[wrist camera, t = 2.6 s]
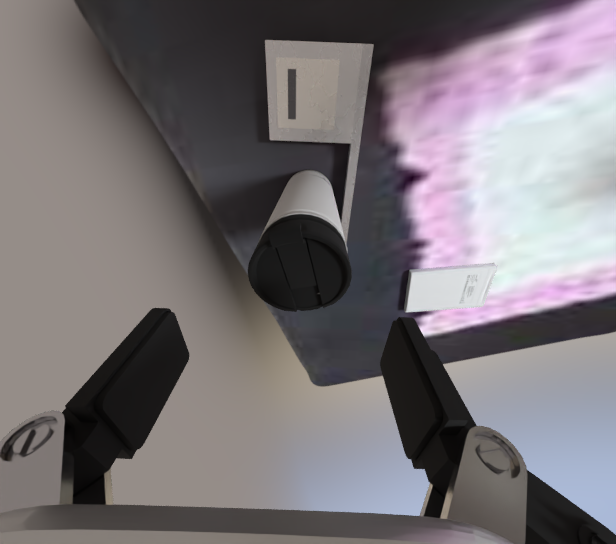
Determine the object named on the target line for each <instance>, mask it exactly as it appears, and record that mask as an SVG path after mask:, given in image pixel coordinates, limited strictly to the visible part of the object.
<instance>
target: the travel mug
mask: <svg viewBox="0 0 616 544" xmlns="http://www.w3.org/2000/svg"><path fill="white" fill-rule="evenodd" d="M351 272H352V270H351V266H350V262H349V258H348V254H347V246H346V242H345V238H344V234H343V230H342V226H341V222H340V218H339V214H338V210H337V206H336V201H335V197H334V193H333V189H332V186H331V184H330V181H329V180H328V179H327V177H325V176H324V175H323V174H322V173H320V172H318V171H315V170H303V171H300V172H298V173H296V174H295V175H293V176H292V177H291V179H290V180H289V181H288V183H287V185H286V187H285V189H284V191H283V193H282V195H281V197H280V199H279V201H278V203H277V205H276V207H275V209H274V211H273V213H272V215H271V217H270V219H269V221H268V223H267V225H266V227H265V229H264V231H263V233H262V235H261V237H260V240H259V243H258V245H257V247H256V249H255V251H254V253H253V255H252V257H251V260H250V262H249V267H248V277H249V281H250V284H251V286H252V288H253V289H254V291H255V292H256V294H257V295H258V296H259V297H260V298H261V299H262V300H264V301H265V302H267V303H268V304H270V305H272V306H274V307H276V308H278V309H281V310H284V311H294V312H297V310H301V311H305V310H313V309H318V308H320V307H322V306H323V308H324V307H327V306H329V305H332V304H334V303H335V302H337V301H338V300H339V299H341V297H342V296H343V295H344V294H345V293H346V291H347V289H348V287H349V286H350V282H351Z"/></svg>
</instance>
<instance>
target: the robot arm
mask: <svg viewBox="0 0 616 544" xmlns="http://www.w3.org/2000/svg"><path fill="white" fill-rule="evenodd" d="M188 360H189V352H188V349H187V346H186V343H185V341H184V338H183V335H182V332H181V330H180V327H179V324H178V321H177V319H176V316H175V314H174V313H173V312H171V310H170V309H167V308H153V309H152V310H150V312H149V313H148V314H147V315H146V316H145V317H144V318H143V319H142V320H141V321H140V323H139V324H138V325H137V326H136V327H135V328H134V329H133V331H132V332H131V333H130V334H129V335H128V336H127V337H126V338H125V340H124V341H123V342H122V343H121V344H120V345H119V346H118V347H117V348H116V349H115V351H114V352H113V353H112V354H111V355H110V356H109V358H108V359H107V360H106V361H105V362H104V363H103V364H102V365H101V366H100V367H99V369H98V370H97V371H96V372H95V373H94V374H93V375H92V376H91V377H90V379H89V380H88V381H87V382H86V383H85V384H84V385H83V386H82V388H81V389H80V390H79V391H78V392H77V393H76V394H75V396H74V397H73V398H72V399H71V400H70V401H69V402H68V403H67V404H66V405H65V406H66V409H65V410H64V411H63V412H62V413H61V412H59V411H48V412H44V413H41V414H38V415H35V416H33V417H31V418H29V419H27V420H26V421H24V422H22V423H21V424H19V425H18V426H17V427H15V428H14V429H12V430H11V431H10V432H9V433H8V434H7V435H6V436H5V437H4V438H3V439H2V440H1V441H0V544H616V535H615V534H614V533H613V532H611V531H610V530H609V529H608V528H606V527H605V526H604V525H602V524H601V523H600V522H598V521H597V520H595V519H594V518H593V517H591V516H590V515H589V514H587V513H586V512H584V511H583V510H582V509H580V508H579V507H577V506H576V505H575V504H573V503H572V502H571V501H569V500H568V499H567V498H565V497H564V496H562V495H561V494H560V493H558V492H557V491H555V490H554V489H553V488H551V487H550V486H549V485H547V484H546V483H545V482H543V481H542V480H540V479H539V478H538V477H536V476H535V475H533V474H532V473H531V472H529V471H528V470H527V469H526V465H525V463H524V461H523V458H522V456H521V455H520V453H519V452H518V450H517V449H516V448H515V446H514V445H513V444H512V443H511V442H510V441H509V440H508V439H506V438H505V437H504V436H502V435H501V434H500V433H498V432H497V431H495V430H493V429H491V428H488V427H484V426H476V424H475V422H474V420H473V419H472V417H471V415H470V413H469V411H468V409H467V408H466V406H465V404H464V402H463V401H462V399H461V397H460V395H459V393H458V391H457V390H456V388H455V386H454V384H453V382H452V381H451V379H450V377H449V375H448V373H447V371H446V370H445V368H444V366H443V364H442V362H441V361H440V359H439V357H438V355H437V354H436V353H435V352H434V351H433V350H431V349H430V347H429V346H428V344H427V342H426V340H425V338H424V336H423V334H422V332H421V331H420V329H419V327H418V325H417V323H416V321H415V320H414V319H413V318H404V317H399V318H398V319H397V321H393V323H392V326H391V329H390V333H389V336H388V339H387V342H386V345H385V348H384V351H383V355H382V358H381V362H380V366H381V371H382V374H383V378H384V381H385V384H386V388H387V391H388V395H389V398H390V402H391V405H392V409H393V413H394V416H395V420H396V423H397V426H398V430H399V434H400V437H401V441H402V444H403V448H404V451H405V454H406V456H407V458H408V459H411V460H412V463H413V467H414V469H425V471H426V474H427V477H428V480H429V482H430V485H429V488H428V491H427V494H426V497H425V501H424V504H423V507H422V510H421V513H420V516H409V515H392V514H375V513H351V512H326V511H325V512H324V511H300V510H272V509H243V508H211V507H180V506H179V507H178V506H145V505H113V495H112V494H113V493H112V480H111V466H112V464H113V463H114V461H115V459H116V458H125V459H132V458H133V456H134V454H135V452H136V450H137V449H140V448H141V447H142V446H143V444H144V443H145V440H146V439H147V437H148V435H149V433H150V431H151V430H152V428H153V426H154V424H155V422H156V420H157V418H158V416H159V414H160V413H161V411H162V409H163V407H164V405H165V403H166V401H167V400H168V398H169V396H170V394H171V392H172V390H173V388H174V386H175V385H176V383H177V381H178V379H179V377H180V375H181V373H182V372H183V370H184V368H185V366H186V364H187V362H188Z"/></svg>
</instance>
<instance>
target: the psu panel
mask: <svg viewBox="0 0 616 544" xmlns="http://www.w3.org/2000/svg"><path fill="white" fill-rule="evenodd" d="M373 46H374V44H358V43H333V42H307V41H281V40H265V51H266V72H267V93H268V114H269V134H270V140H280V141H303V142H327V143H349V150H348V158H347V167H346V176H345V184H344V193H343V201H342V210H341V219H340V222H341V226H342V230H343V234H344V238H345V242H346V241H347V234H348V227H349V220H350V213H351V205H352V198H353V191H354V184H355V176H356V169H357V162H358V155H359V147H360V140H361V133H362V126H363V118H364V111H365V104H366V97H367V90H368V82H369V75H370V68H371V61H372V53H373Z"/></svg>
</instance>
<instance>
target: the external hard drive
mask: <svg viewBox="0 0 616 544" xmlns="http://www.w3.org/2000/svg"><path fill="white" fill-rule="evenodd" d="M496 271H497V265H496V264H495V263H488V264H475V265H462V266H450V267H438V268H425V269H413V270H409V276H408V284H407V291H406V298H405V305H404V310H405V312H418V311H432V310H446V309H460V308H474V307H483V305H484V303H485V300H486V297H487V294H488V292H489V289H490V286H491V284H492V281H493V279H494V276H495V273H496Z"/></svg>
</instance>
